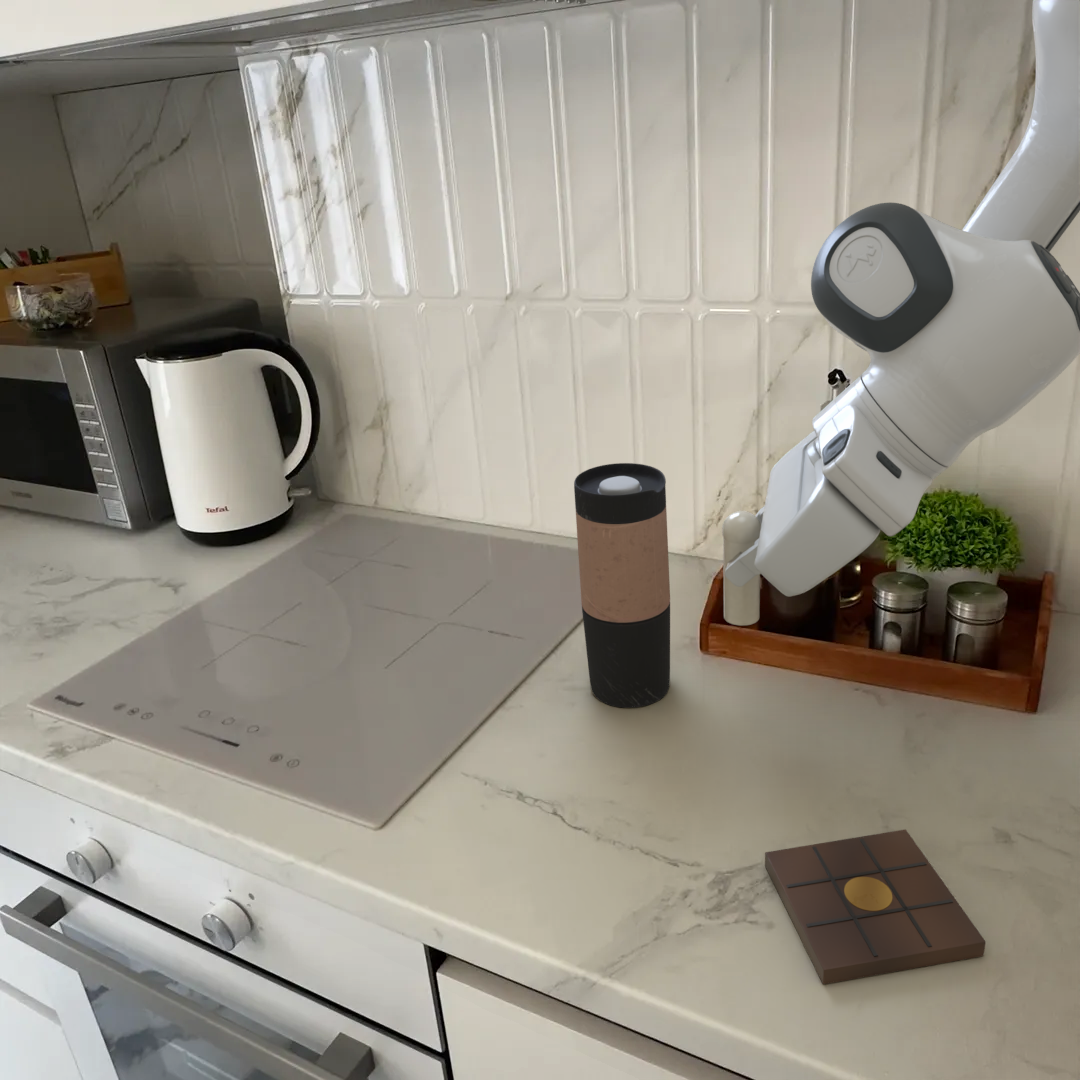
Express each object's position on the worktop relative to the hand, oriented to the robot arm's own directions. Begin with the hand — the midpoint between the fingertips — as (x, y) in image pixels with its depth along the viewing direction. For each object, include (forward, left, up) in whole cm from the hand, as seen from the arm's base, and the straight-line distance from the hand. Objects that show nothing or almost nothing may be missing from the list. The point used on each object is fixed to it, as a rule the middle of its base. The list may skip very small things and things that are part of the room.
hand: (733, 565), depth 76 cm
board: (-2, +22, -14) cm, 26 cm away
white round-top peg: (-1, 0, -5) cm, 5 cm away
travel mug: (+7, -7, -15) cm, 18 cm away
